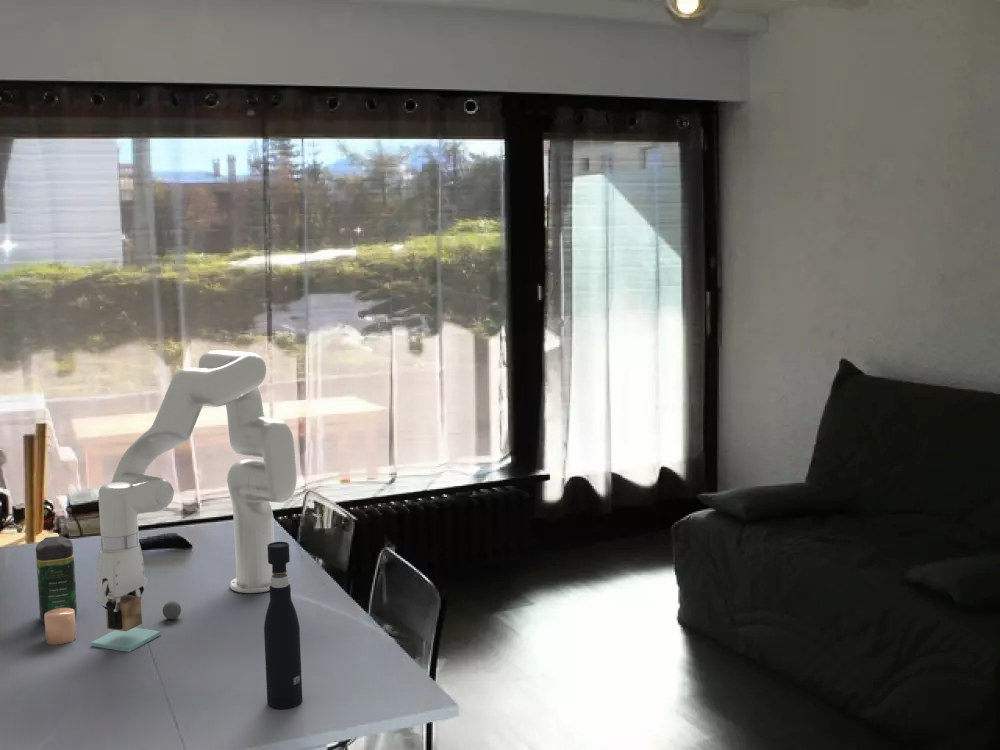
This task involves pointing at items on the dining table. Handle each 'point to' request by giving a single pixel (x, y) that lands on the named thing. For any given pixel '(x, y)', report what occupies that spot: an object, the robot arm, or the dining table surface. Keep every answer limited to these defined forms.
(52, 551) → the coffee jar
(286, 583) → the insulated water bottle
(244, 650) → the dining table surface
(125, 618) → the walnut block
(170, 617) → the rubber ball
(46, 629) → the beige rounded cylinder
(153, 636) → the coaster
